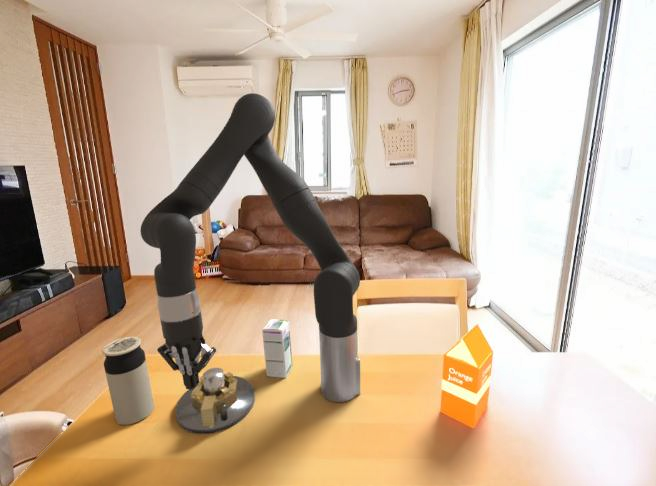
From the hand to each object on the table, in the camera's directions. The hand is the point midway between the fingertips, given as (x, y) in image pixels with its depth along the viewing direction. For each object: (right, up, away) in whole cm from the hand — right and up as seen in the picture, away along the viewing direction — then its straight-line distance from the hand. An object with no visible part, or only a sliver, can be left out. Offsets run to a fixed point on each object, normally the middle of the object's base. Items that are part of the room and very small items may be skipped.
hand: (192, 387), depth 71 cm
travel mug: (-17, -10, +8) cm, 21 cm away
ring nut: (+2, -7, +8) cm, 11 cm away
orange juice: (+60, -8, +6) cm, 61 cm away
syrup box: (+15, -5, +22) cm, 28 cm away
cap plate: (+2, -9, +10) cm, 13 cm away
